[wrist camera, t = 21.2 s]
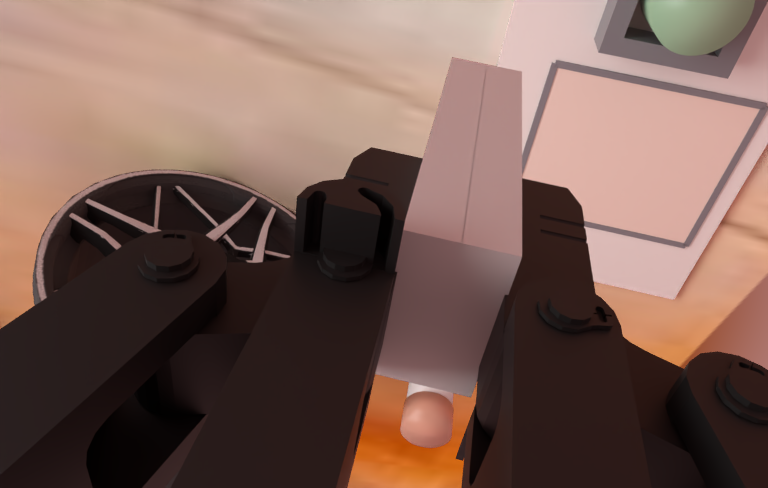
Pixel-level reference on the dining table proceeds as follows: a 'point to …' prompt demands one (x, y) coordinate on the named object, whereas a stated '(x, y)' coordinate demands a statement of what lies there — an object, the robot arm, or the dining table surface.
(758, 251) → the dining table surface
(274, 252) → the wheel rim
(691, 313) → the dining table surface
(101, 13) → the dining table surface
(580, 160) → the board
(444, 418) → the marker
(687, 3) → the button cap
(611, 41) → the button housing
